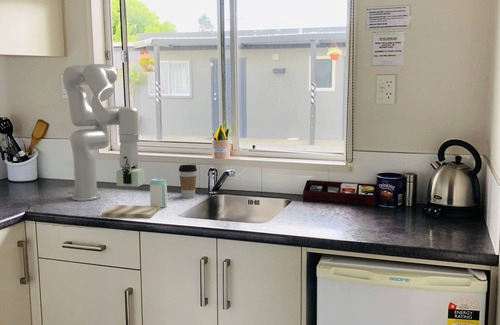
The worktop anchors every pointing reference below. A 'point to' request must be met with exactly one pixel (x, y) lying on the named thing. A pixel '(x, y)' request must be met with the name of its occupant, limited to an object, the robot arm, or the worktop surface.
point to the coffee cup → (188, 180)
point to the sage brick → (136, 177)
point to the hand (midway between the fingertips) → (130, 181)
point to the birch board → (131, 211)
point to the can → (158, 192)
